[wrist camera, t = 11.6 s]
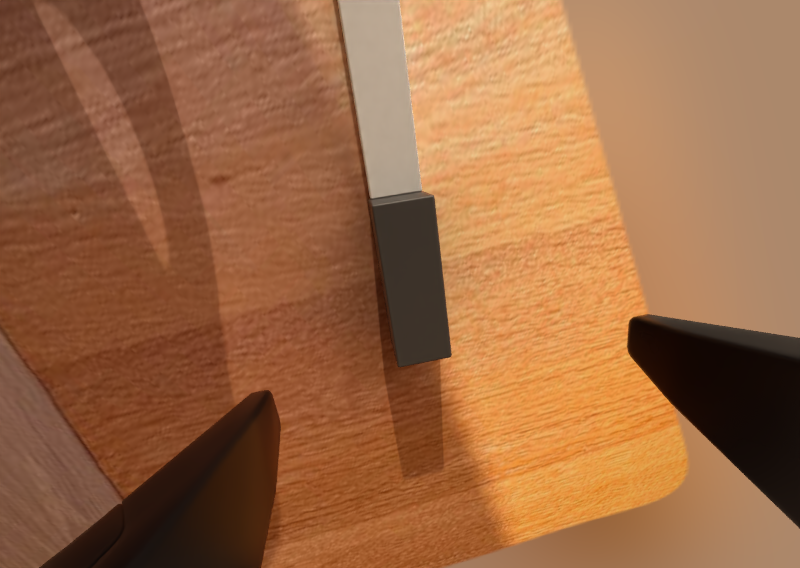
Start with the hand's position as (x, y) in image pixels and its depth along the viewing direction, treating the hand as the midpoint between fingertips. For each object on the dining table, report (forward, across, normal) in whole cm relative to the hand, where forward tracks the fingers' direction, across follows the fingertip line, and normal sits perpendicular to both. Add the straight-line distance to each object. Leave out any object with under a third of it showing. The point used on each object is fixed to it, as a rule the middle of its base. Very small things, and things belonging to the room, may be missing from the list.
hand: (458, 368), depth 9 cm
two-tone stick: (+9, 0, -5) cm, 10 cm away
